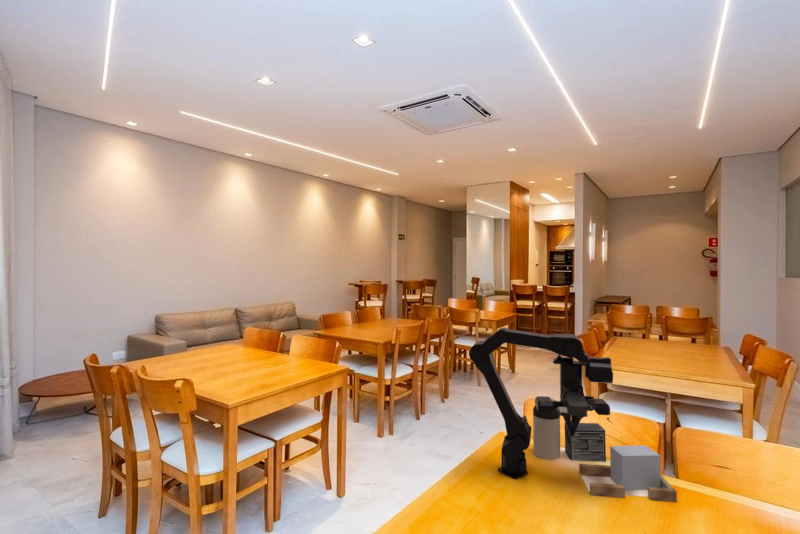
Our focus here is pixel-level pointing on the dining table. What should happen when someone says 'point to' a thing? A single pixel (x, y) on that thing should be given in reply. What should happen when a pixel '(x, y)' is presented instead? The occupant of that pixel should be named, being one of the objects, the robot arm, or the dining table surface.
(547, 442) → the travel mug
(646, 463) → the block
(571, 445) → the small box
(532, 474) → the dining table surface
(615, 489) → the brown piece
